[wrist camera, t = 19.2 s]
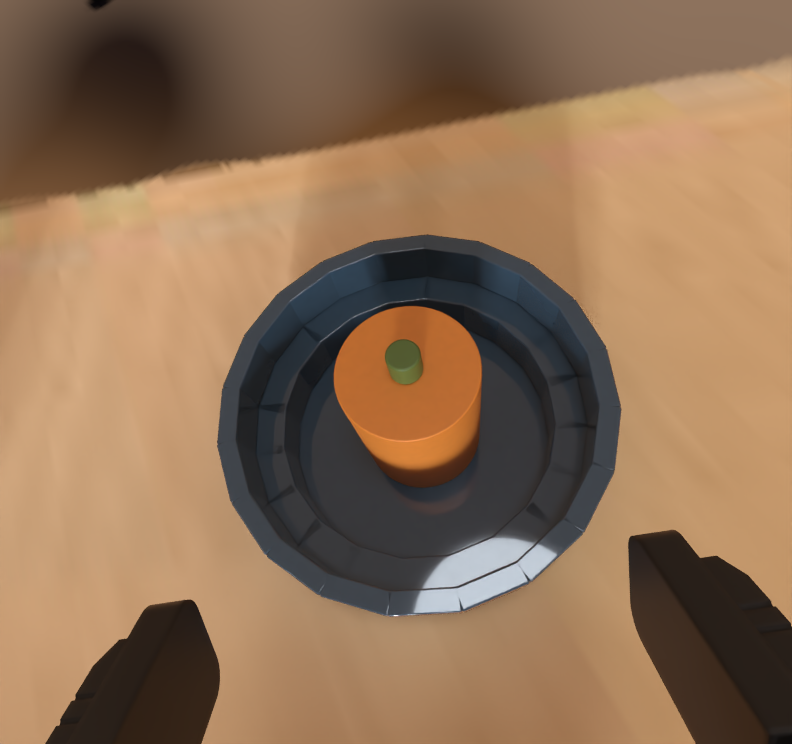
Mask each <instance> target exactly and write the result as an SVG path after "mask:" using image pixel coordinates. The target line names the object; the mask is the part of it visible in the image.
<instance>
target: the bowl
mask: <svg viewBox="0 0 792 744" xmlns="http://www.w3.org/2000/svg"><path fill="white" fill-rule="evenodd" d="M403 306H419V307H426V308H431V309H434V310H437V311H440V312H442V313H444V314H446V315H448V316H450V317H452V318H453V319H455V320H456V321H458V322H459V323H460V324H461V325H462V326H463V327H464V328H465V329H466V330H467V331H468V332H469V334H470V335H471V337H472V338H473V340H474V341H475V343H476V346H477V348H478V350H479V354H480V357H481V363H482V387H481V410H480V433H479V443H478V447H477V450H476V453H475V455H474V457H473V459H472V460H471V462H470V464H469V465H468V466H467V467H466V469H465V470H464V471H463V472H462V473H460V474H459V475H458V476H457V477H455V478H454V479H452V480H450V481H448V482H446V483H444V484H441V485H438V486H433V487H425V488H421V487H412V486H407V485H404V484H401V483H399V482H397V481H395V480H393V479H392V478H390V477H389V476H387V475H386V474H385V473H384V472H383V471H382V470H381V469H380V468H379V467H378V465H377V464H376V462H375V461H374V459H373V457H372V456H371V454H370V453H369V451H368V449H367V448H366V446H365V445H364V443H363V441H362V440H361V438H360V437H359V435H358V433H357V432H356V430H355V429H354V427H353V425H352V424H351V422H350V421H349V419H348V417H347V416H346V414H345V413H344V411H343V409H342V408H341V406H340V404H339V401H338V399H337V396H336V393H335V387H334V368H335V363H336V359H337V356H338V354H339V351H340V349H341V347H342V345H343V343H344V342H345V340H346V339H347V337H348V336H349V335H350V334H351V333H352V331H353V330H354V329H355V328H356V327H357V326H359V325H360V324H361V323H362V322H364V321H365V320H367V319H368V318H370V317H371V316H373V315H375V314H377V313H379V312H382V311H385V310H388V309H392V308H396V307H403ZM244 336H245V337H243V339H242V342H241V344H240V347H239V349H238V351H237V354H236V356H235V359H234V361H233V363H232V366H231V368H230V370H229V373H228V375H227V378H226V380H225V382H224V385H223V389H222V397H221V408H220V419H219V430H218V441H217V443H218V445H217V447H218V451H219V455H220V459H221V464H222V468H223V472H224V476H225V480H226V485H227V489H228V493H229V497H230V501H231V502H232V505H233V507H234V508H235V510H236V511H237V513H238V514H239V516H240V517H241V519H242V520H243V522H244V523H245V525H246V527H247V528H248V530H249V531H250V533H251V534H252V536H253V537H254V539H255V540H256V542H257V543H258V545H259V546H260V548H261V550H262V551H263V553H264V554H265V555H267V557H268V558H269V559H270V560H272V561H273V562H274V563H276V564H277V565H278V566H280V567H281V568H282V569H284V570H285V571H286V572H288V573H289V574H290V575H292V576H293V577H295V578H296V579H297V580H299V581H300V582H301V583H303V584H304V585H305V586H307V587H308V588H309V589H311V590H312V591H313V592H315V593H316V594H317V595H320V596H321V597H324V598H327V599H330V600H334V601H337V602H340V603H344V604H347V605H350V606H354V607H357V608H361V609H364V610H367V611H371V612H374V613H377V614H381V615H384V616H390V617H400V616H422V615H439V614H456V613H463V612H467V611H470V610H472V609H474V608H477V607H479V606H481V605H484V604H486V603H488V602H491V601H493V600H495V599H498V598H500V597H502V596H505V595H507V594H509V593H512V592H514V591H516V590H519V589H521V588H522V587H524V586H526V585H528V584H529V583H531V582H532V581H534V580H535V579H536V578H537V577H538V576H539V575H540V574H541V573H542V572H543V571H544V570H545V569H546V568H547V567H548V566H550V565H551V564H552V563H553V562H554V561H555V560H556V559H557V558H558V557H559V556H560V555H561V554H562V553H563V552H564V551H566V550H567V549H568V548H569V547H570V546H571V545H572V544H573V543H574V542H575V541H576V540H577V539H578V538H579V537H580V536H582V534H583V533H584V532H585V530H586V528H587V526H588V524H589V522H590V520H591V518H592V516H593V514H594V512H595V510H596V508H597V506H598V504H599V502H600V500H601V498H602V496H603V494H604V492H605V490H606V488H607V486H608V484H609V482H610V480H611V478H612V476H613V474H614V470H615V463H616V454H617V445H618V436H619V426H620V417H621V404H620V400H619V396H618V392H617V388H616V384H615V380H614V376H613V372H612V368H611V364H610V360H609V356H608V352H607V349H606V346H605V345H604V343H603V341H602V340H601V338H600V337H599V335H598V334H597V332H596V331H595V329H594V328H593V326H592V324H591V323H590V321H589V320H588V318H587V317H586V315H585V314H584V312H583V311H582V309H581V308H580V306H579V304H578V303H577V301H576V300H574V298H573V297H572V296H570V295H569V294H568V293H567V292H565V291H564V290H563V289H562V288H561V287H559V286H558V285H557V284H556V283H554V282H553V281H552V280H551V279H550V278H548V277H547V276H546V275H545V274H543V273H542V272H541V271H540V270H539V269H537V268H536V267H535V266H534V265H532V264H530V263H529V262H527V261H525V260H522V259H520V258H517V257H515V256H513V255H510V254H508V253H506V252H503V251H501V250H498V249H496V248H494V247H491V246H489V245H487V244H484V243H482V242H481V243H480V242H479V241H472V240H464V239H457V238H449V237H442V236H434V235H419V236H411V237H403V238H395V239H388V240H380V241H373V243H372V242H370V243H367V244H365V245H362V246H360V247H357V248H354V249H352V250H349V251H347V252H344V253H342V254H339V255H337V256H334V257H332V258H329V259H327V260H324V261H323V262H320V263H319V264H318V265H316V266H315V267H313V268H312V269H311V270H309V271H308V272H307V273H305V274H304V275H303V276H301V277H300V278H298V279H297V280H296V281H294V282H293V283H292V284H290V285H289V286H287V287H286V288H285V289H283V290H282V291H281V292H279V294H277V295H276V296H275V298H274V299H273V300H272V301H271V302H270V304H269V305H268V306H267V307H266V309H265V310H264V311H263V312H262V314H261V315H260V316H259V317H258V319H257V320H256V321H255V322H254V324H253V325H252V326H251V327H250V329H249V330H248V331H247V332H246V334H245V335H244Z"/></svg>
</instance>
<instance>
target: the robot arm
mask: <svg viewBox="0 0 792 744" xmlns="http://www.w3.org/2000/svg"><path fill="white" fill-rule="evenodd" d="M628 549H629V577H630V603H631V610H632V615H633V619H634V623H635V626H636V629H637V632H638V634H639V637H640V639H641V641H642V643H643V645H644V647H645V649H646V651H647V653H648V655H649V656H650V658H651V660H652V662H653V664H654V666H655V668H656V670H657V671H658V673H659V675H660V677H661V679H662V681H663V683H664V685H665V686H666V688H667V690H668V692H669V694H670V696H671V698H672V700H673V702H674V703H675V705H676V707H677V709H678V711H679V713H680V715H681V717H682V718H683V720H684V722H685V724H686V726H687V728H688V730H689V732H690V733H691V735H692V737H693V739H694V741H695V743H696V744H792V627H791V623H790V622H789V621H788V620H787V619H786V617H785V616H784V615H783V614H782V613H781V612H780V611H779V610H778V608H777V607H773V606H772V604H771V601H770V599H769V598H768V597H767V596H766V595H765V594H764V593H763V592H762V590H761V589H760V588H759V587H758V586H757V585H756V584H755V583H754V581H753V580H752V579H751V578H750V577H749V576H748V575H747V574H745V573H743V572H742V571H740V570H739V569H737V568H735V567H734V566H732V565H731V564H729V563H727V562H726V561H724V560H723V559H721V558H719V557H718V556H711V557H704V558H699V556H698V555H697V554H696V553H695V551H694V550H693V549H692V548H691V546H690V545H689V544H688V543H687V541H686V540H685V539H684V538H683V536H682V535H681V534H680V533H679V532H677V531H676V530H669V531H662V532H655V533H649V534H642V535H635V536H631V537H630V538H629V543H628ZM219 684H220V669H219V663H218V659H217V656H216V653H215V651H214V648H213V646H212V643H211V640H210V638H209V635H208V633H207V630H206V628H205V625H204V622H203V620H202V617H201V615H200V612H199V610H198V607H197V605H196V604H195V602H194V601H192V600H182V601H175V602H168V603H162V604H155V605H150V606H148V607H147V608H146V609H145V610H144V611H143V612H142V614H141V616H140V617H139V619H138V621H137V623H136V624H135V626H134V628H133V630H132V631H131V633H130V635H129V636H128V638H127V639H121V640H119V641H118V642H117V643H116V644H115V645H114V646H113V647H112V648H111V649H110V650H109V651H108V652H107V653H106V654H105V655H104V656H103V657H102V658H101V659H100V660H99V661H98V662H97V663H96V664H95V665H94V666H93V667H92V669H91V671H90V672H89V674H88V675H87V677H86V679H85V680H84V682H83V684H82V685H81V687H80V688H79V690H78V692H77V693H76V699H75V701H71V703H70V705H69V706H68V708H67V709H66V711H65V713H64V714H63V716H62V718H61V719H60V721H61V722H60V725H59V726H56V727H55V729H54V731H53V732H52V734H51V735H50V737H49V739H48V740H47V742H46V743H45V744H201V743H202V740H203V737H204V734H205V731H206V728H207V725H208V722H209V720H210V717H211V714H212V711H213V708H214V705H215V702H216V699H217V696H218V691H219Z"/></svg>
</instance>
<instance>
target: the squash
mask: <svg viewBox="0 0 792 744" xmlns="http://www.w3.org/2000/svg"><path fill="white" fill-rule="evenodd" d="M334 387H335V393H336V396H337V399H338V401H339V404H340V406H341V408H342V409H343V411H344V413H345V414H346V416H347V417H348V419H349V421H350V422H351V424H352V425H353V427H354V429H355V430H356V432H357V433H358V435H359V437H360V438H361V440H362V441H363V443H364V445H365V446H366V448H367V449H368V451H369V453H370V454H371V456H372V457H373V459H374V461H375V462H376V464H377V465H378V467H379V468H380V469H381V470H382V471H383V472H384V473H385V474H386V475H387V476H389V477H390V478H392V479H393V480H395V481H397V482H399V483H401V484H404V485H407V486H412V487H421V488H425V487H433V486H438V485H441V484H444V483H446V482H448V481H450V480H452V479H454V478H455V477H457V476H458V475H459V474H460V473H462V472H463V471H464V470H465V469H466V467H467V466H468V465H469V464H470V462H471V460H472V459H473V457H474V455H475V453H476V450H477V447H478V443H479V433H480V410H481V387H482V363H481V357H480V354H479V350H478V348H477V346H476V343H475V341H474V340H473V338H472V337H471V335H470V334H469V332H468V331H467V330H466V329H465V328H464V327H463V326H462V325H461V324H460V323H459V322H458V321H456V320H455V319H453V318H452V317H450V316H448V315H446V314H444V313H442V312H440V311H437V310H434V309H431V308H426V307H419V306H403V307H396V308H392V309H388V310H385V311H382V312H379V313H377V314H375V315H373V316H371V317H370V318H368V319H367V320H365V321H364V322H362V323H361V324H360V325H359V326H357V327H356V328H355V329H354V330H353V331H352V333H351V334H350V335H349V336H348V337H347V339H346V340H345V342H344V343H343V345H342V347H341V349H340V351H339V354H338V356H337V359H336V363H335V368H334Z"/></svg>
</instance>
